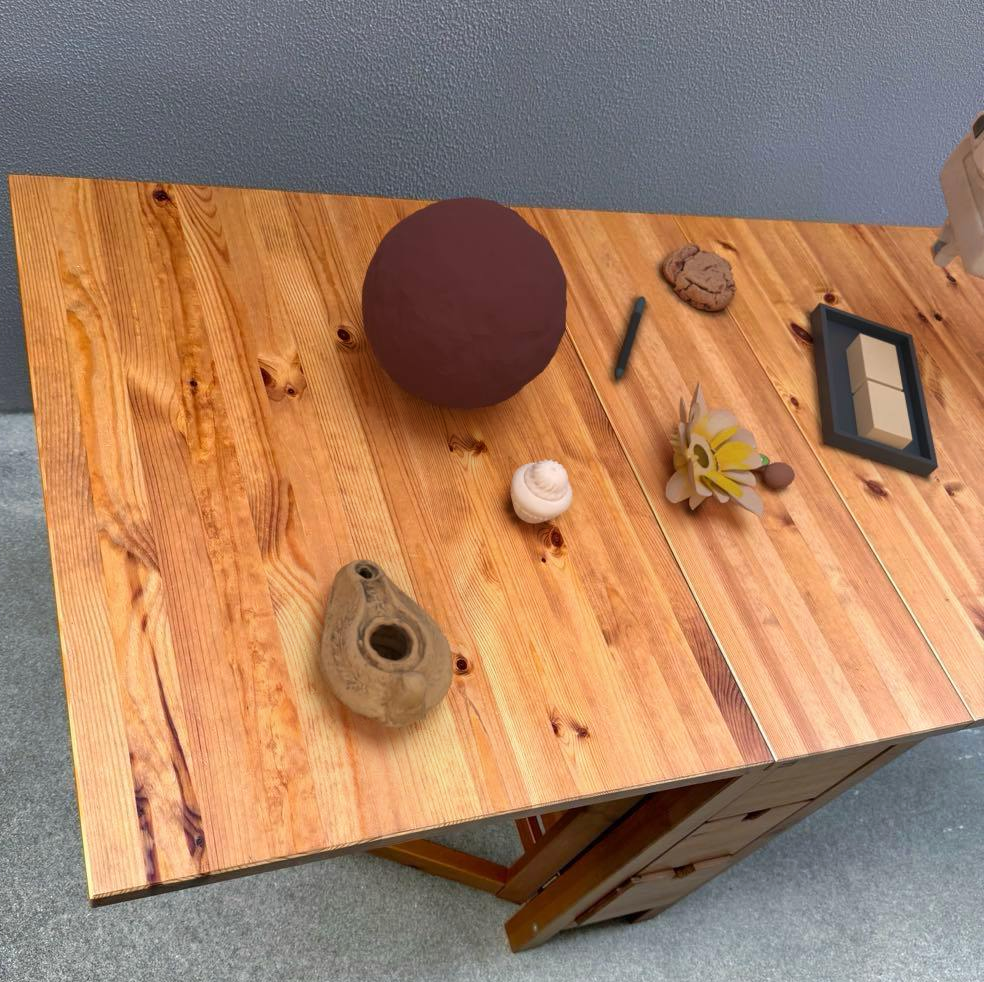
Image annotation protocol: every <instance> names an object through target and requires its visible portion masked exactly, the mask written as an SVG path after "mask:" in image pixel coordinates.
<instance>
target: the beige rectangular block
mask: <svg viewBox="0 0 984 982" xmlns="http://www.w3.org/2000/svg"><path fill="white" fill-rule="evenodd" d="M846 353H847V361H848V369H849V377H850V384H851V392H852V393H853V394H855V393H856V392H857V391H858V390H859V389H860V388H861V387H862V386H863V384H864V383H865V382H866V381H867V380H869V381H872V382H874V383H877V384H880V385H883V386H886V387H889V388H892V389H895V390H898V391H902V389H903V387H902V382H901V376H900V370H899V365H898V359H897V353H896V348H895V345H892V344H889V343H886V342H883V341H880V340H877V339H875V338H872V337H869V336H866V335H863V334H859V335H858V336H857V338H856V339H855V340H854V341H853V342H852V343H851V345H850V346H849V347H848V348H847V349H846Z"/></svg>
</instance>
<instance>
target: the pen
mask: <svg viewBox="0 0 984 982" xmlns="http://www.w3.org/2000/svg"><path fill="white" fill-rule="evenodd" d="M645 305H646V297H644V295H643V296H642V295H641V296H638V298H637V300H636V303H635V306H634V310H633V313H632V316H631V319H630V322H629V326H628V329H627V332H626V335H625V338H624V342H623V345H622V348H621V352H620V355H619V358H618V361H617V364H616V368H615V378H616V380H620V378H621V377H622V376H623V375H624V373H625V371H626V368H627V364H628V361H629V358H630V354H631V351H632V348H633V345H634V341H635V337H636V334H637V332H638V328H639V324H640V321H641V318H642V315H643V312H644V308H645Z"/></svg>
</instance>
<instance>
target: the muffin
mask: <svg viewBox="0 0 984 982" xmlns="http://www.w3.org/2000/svg"><path fill="white" fill-rule="evenodd" d="M510 484H511V485H510V498H511V502H512V506H513V510H514V512H515V515H517V517H518V518H519V519H520V520H521V521H523V522H524V523H528V524H530V525H531V524H535V525H536V524H540V523H544V522H547V521H551V520H552V519H556V517H558V516H561V515H562V514H564V513H565V512H566V511H568V509H569V508H570V506H571V504H572V500H573V489H572V487H571V486H572V485H571V483H570V482H569V475H568V472H567V469H565V468H564V465H563V464H561V463H559V461H556V460H555V461H553V459H549V460H548V459H545V458H544V459H542V460H538V461H537V462H535V461H534V462H528V463H525V464H523V465H521V466H520V467H518V468H517V469H516V470H515V471H514V473H513V475H512V477H511V483H510Z"/></svg>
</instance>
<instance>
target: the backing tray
mask: <svg viewBox="0 0 984 982" xmlns="http://www.w3.org/2000/svg"><path fill="white" fill-rule="evenodd" d="M810 320H811V321H810V322H811V330H812V331H811V332H812V340H813V349H814V359H815V370H816V379H817V389H818V398H819V400H818V401H819V408H820V417H821V428H822V439H823V444H824V445H827V446H830V447H833V448H836V449H839V450H842V451H845V452H848V453H851V454H855V455H857V456H860V457H863V458H866V459H869V460H872V461H875V462H878V463H882V464H885V465H887V466H891V467H894V468H896V469H900V470H903V471H905V472H909V473H911V474H915V475H918V476H921V477H922V478H923V477H924V478H928V477H929V476H930V475H931V474H932V473H934V472H935V471H936V470H937V469H938V468H939V464H938V458H937V453H936V449H935V443H934V437H933V433H932V427H931V422H930V417H929V412H928V408H927V401H926V397H925V393H924V386H923V381H922V376H921V371H920V367H919V361H918V357H917V356H918V355H917V352H916V348H915V347H916V346H915V342H914V341H915V340H914V337H913V334H911V333H908V332H905V331H902V330H900V329H896V328H894V327H891V326H888V325H885V324H882V323H879V322H877V321H873V320H871V319H868V318H866V317H863V316H861V315H856V314H854V313H851V312H848V311H846V310H843V309H840V308H837V307H835V306H831V305H829V304H826V303H822V302H819V303H818V304H817V305H816V306H815V308H814V309H813V311H812V312H810ZM859 334H863V335H866V336H869V337H872V338H875V339H877V340H880V341H883V342H886V343H889V344H892V345H895V348H896V353H897V359H898V365H899V370H900V376H901V382H902V387H903V389H902V391H901V392H904V395H905V401H906V407H907V412H908V418H909V423H910V429H911V435H912V441H911V442H910V443H909V444H908V445H907V446H906V447H905V448H904V449H903V450H899V449H896V448H893V447H890V446H887V445H884V444H881V443H878V442H875V441H872V440H869V439H866V438H863V437H860V436H858V432H857V425H856V417H855V410H854V402H853V396H854V394H853V393H852V392H851V384H850V377H849V369H848V361H847V353H846V349H847V348H848V347H849V346H850V345H851V343H852V342H853V341H854V340H855V339H856V338H857V336H858V335H859Z"/></svg>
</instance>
